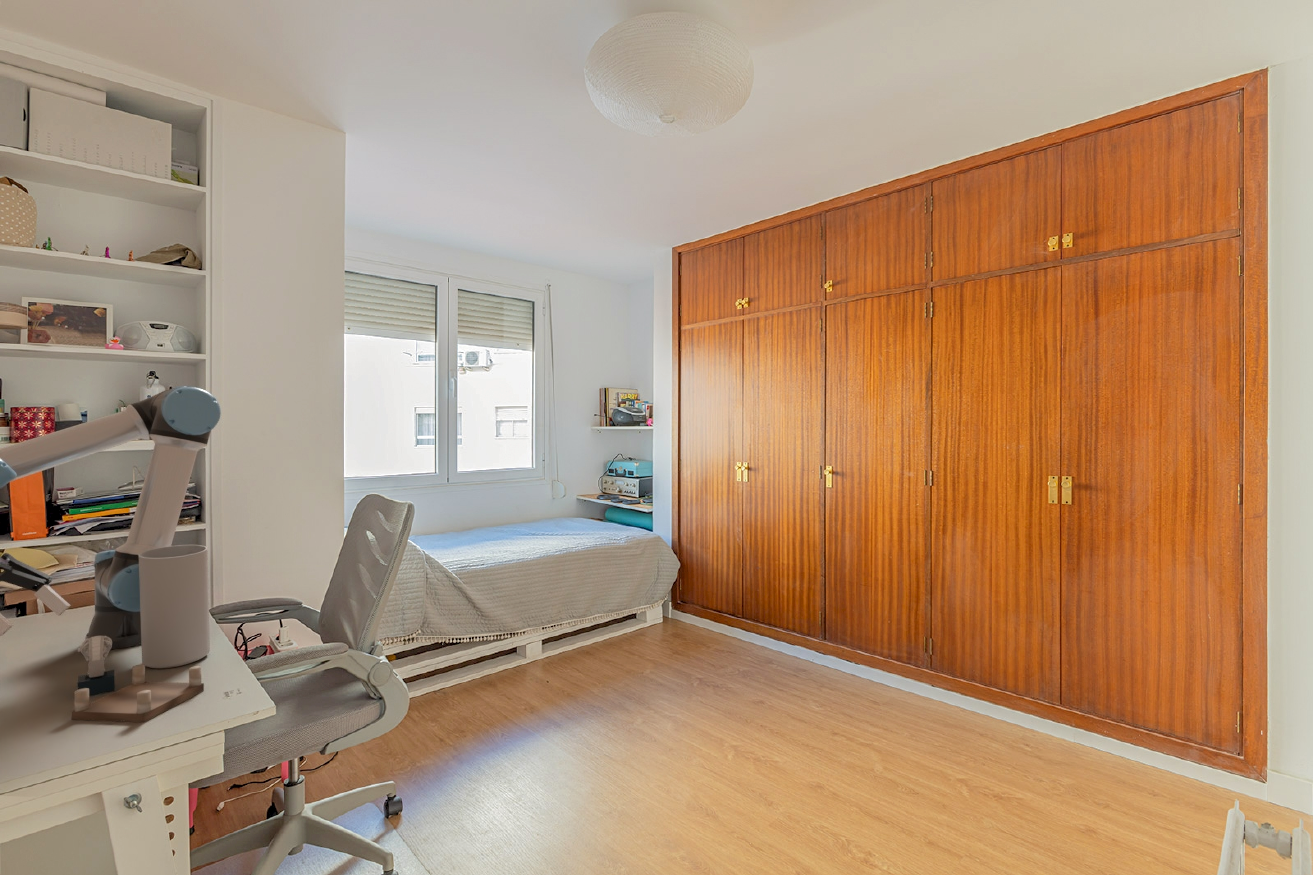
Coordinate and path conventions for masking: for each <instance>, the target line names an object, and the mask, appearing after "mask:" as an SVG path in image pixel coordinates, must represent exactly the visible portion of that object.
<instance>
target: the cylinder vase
mask: <svg viewBox="0 0 1313 875" xmlns="http://www.w3.org/2000/svg"><path fill="white" fill-rule="evenodd" d="M208 548H209V547H207V546H206V545H200V544H178V545H171V546H168V547H161V548H156V549H151V550H147V551H144V552H142V553H140V554H139V584H140V615H141V644H140V645H141V662H142V663H141V664H144V665H145V667H147V668H151V669H169V668H175V667H176V668H177V667H181V666H185V665H186V666H187V665H189V664H192V663H195V662H196V661H197V662H198V661H199V660H201V659H203V658H205V657H206V656H207V655H208V654H209V653H210V651H211V641H210V640H211V638H210V636H211V635H210V633H211V632H210V630H211V629H210V593H209V560H208V559H209V556H208V554H209V553H208V552H209V550H208Z"/></svg>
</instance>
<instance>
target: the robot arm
mask: <svg viewBox="0 0 1313 875" xmlns="http://www.w3.org/2000/svg"><path fill="white" fill-rule="evenodd" d="M221 416H222V411H221V406H220V403H219V402H218V399H217V398H215V396H214V395H213V394H211V393H210V391H209V392H208V391H207V390H205V389H203V388H200V387H195V386H189V385H187V386H178V387H175V388H169V389H166V390H162V391H161V392H159V393H157V394H155V395H152V396H150V397H147V398H145V399H143V400H140V401H137V402H133V403H131V404H128V405H127V406H126V408H125V410H122V411H118V412H115V413H112V414H109V415H106V416H103V417H99V418H96V419H92V420H90V421H85V422H82V423H80V424H77V425H73V426H70V427H66V428H63V429H60V430H57V431H53V432H50V433H46V434H44V435H43V434H42V435H41V436H37V437H34V438H31V439H27V440H25V441H20V442H18V443H14V444H12V445H11V444H10V445H8V446H4V447H1V448H0V489H2V488H4V487H5V486H6V485H7V484H9V483H10V482H13V481H16V480H18V479H22V478H25V477H28V476H30V475H31V476H32V475H34V474H37V473H40V472H42V471H45V470H49V469H52V468H55V467H58V466H61V465H64V464H67V463H70V462H73V461H76V460H78V459H79V460H80V459H82V458H85V457H88V456H91V455H93V454H97V453H100V452H103V451H106V450H109V449H111V448H115V447H119V446H121V445H124V444H127V443H130V442H133V441H136V440H140V439H141V440H145V441H148V440H152V441H153V443H154V446H153V450H152V454H151V457H150V460H149V463H148V467H147V470H146V474H145V478H144V481H143V485H142V487H141V491H140V495H139V497H138V501H137V505H136V508H135V512H134V515H133V517H132V518H133V519H132V521H131V522H132V523H131V525H130V529H129V531H128V536H127V539H126V541H125V543H123V544H122V545H120V546H118V547H117V548H115V549H111V550H103V551H99V552H97V553H96V555H95V557H94V563H93V567H94V613H93V614H94V615H93V617H92V620H91V622H90V625H89V628H88V632H87V633H86V634H85V637H84V639H85V640H86V639H88V638H91V637H94V636H107V637H109V638H110V639H111V640H112V647H111V649H110V650H114V649H115V650H116V649H123V648H124V649H125V648H128V647H134V646H138V645H141V615H140V584H139V554H140V553H142V552H144V551H147V550H151V549H156V548H161V547H168V546H173V540H174V537H175V533H176V531H177V526H178V523H179V518H180V515H181V511H182V508H183V506H184V501H185V498H186V494H187V490H188V487H189V483H190V479H191V476H192V473H193V469H194V465H195V462H196V459H197V455H198V452H199V451H200V450H202V449H204V448H205V447H207V445H208V442H209V439H210V436H211V432H212V430H213V429H214V428H215V427H216V426H218V423H219V421H220V419H221ZM54 579H55V578H54V577H53V576H52V575H49V574H47V573H45V572H44V571H41V570H38V569H37V568H35V567H33V566H31V565H29V564H26V563H25V562H23V561H21V560H19V559H17V558H15V557H14V556H13V555H11V554H10V553H8V552H4V553H3V554H1V556H0V582H3V583H7V584H11V585H13V586H16V587H19V588H23V589H26V590H29V591H32V592H35V593H33V595H34V596H35V597H36V598H37V599H39V601H40V602H42V603H43V604H44V605H45V606H46V607H47V608H48V609H50V610H51V611H52V612H53V613H54V614H55V615H57V616H62V615H63V613H65V611H67V610H68V609H69V608H70V607H71V606H72V605H71V604H70V603H69V602H68V601H67V600H65V598H63V597H62V596H61V595H60V594H59V593H58V592H57V591H56V590H55V589H54V588H53V587H51V585H50V583H52V581H54ZM13 626H14V624H13V623H12V622H11V621H10V620H8V619H7V618H6V617H5V616H4V615H3V614H2V613H1V612H0V637H1V636H4V635H5V634H6V633H7V632H8V631H9V630H10V629H11V628H12V627H13ZM85 640H84V641H85Z"/></svg>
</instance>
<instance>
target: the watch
mask: <svg viewBox="0 0 1313 875" xmlns="http://www.w3.org/2000/svg"><path fill="white" fill-rule="evenodd" d="M111 647H112V640H111V639H110V638H109V637H107V636H94V637H91V638H88V639H86V640H84V641H82V643H81V645H80V647H78V648H77V653H79V652H80V653H81V654H82V655H83V657H84V659H85V660H86V661H87V662H88V671H87V674H83V675H78V676H77V690H79V689H83V688H89V697H93V696H97V695H102V694H106V693H111V692H112V693H113V692H116V690H115V687H116V686H115V685H116V684H115V681H116V679H115V669H111V670H106V668H105V658H107V657H108V655H109V652H110V651H111V650H112V649H111Z"/></svg>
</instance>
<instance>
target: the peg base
mask: <svg viewBox="0 0 1313 875" xmlns="http://www.w3.org/2000/svg"><path fill="white" fill-rule="evenodd" d="M131 669H132V670H131V674H132V675H131V678H132V679H131V680H132V681H131V684H130V685H127V686H125V687H123V688H119V690H115V691H113V692H112V693H111V692H110V693H109V694H107V695H105V696H103V697H100V698H98V699H96V700H93V701H91V702H90V696H89V688H83V689H79V690H78V689H77V690H75V691H74V709H73V710H72V711H71V715H70V716H71V720H73V721H74V720H75V721H102V722H103V721H105V722H129V723H131V722H133V723H134V722H135V723H146V722H147V721H149V720H152V719H154V718H155V717H157V716H158V715H161V714H163V713H164V712H167V711H168V710H171V709H172V708H174V707H176V706H179V704H182V703H184V702H185V701H187V700H188V699H191V698H192V697H195V696H197V695H198V694H200V693H202V692H204V690H205V688H204V687H205V683H204V682H202V665H201V666H200V665H196V666H191V667H189V669H188V682H176V681H175V682H174V681H171V682H170V681H169V682H168V681H146V666H145V665H144V664H143V663H141V664H137V665H133V666H132V668H131Z"/></svg>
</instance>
